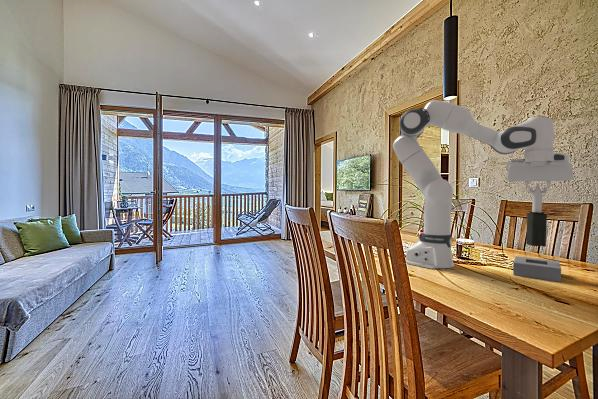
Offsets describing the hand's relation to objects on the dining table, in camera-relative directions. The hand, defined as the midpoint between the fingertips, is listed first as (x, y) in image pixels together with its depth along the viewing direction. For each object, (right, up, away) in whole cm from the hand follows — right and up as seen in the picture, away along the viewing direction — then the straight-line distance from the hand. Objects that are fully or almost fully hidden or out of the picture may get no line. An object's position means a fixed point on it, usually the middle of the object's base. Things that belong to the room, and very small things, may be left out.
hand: (537, 192), depth 114 cm
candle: (0, -21, +1) cm, 21 cm away
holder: (0, -33, 0) cm, 33 cm away
